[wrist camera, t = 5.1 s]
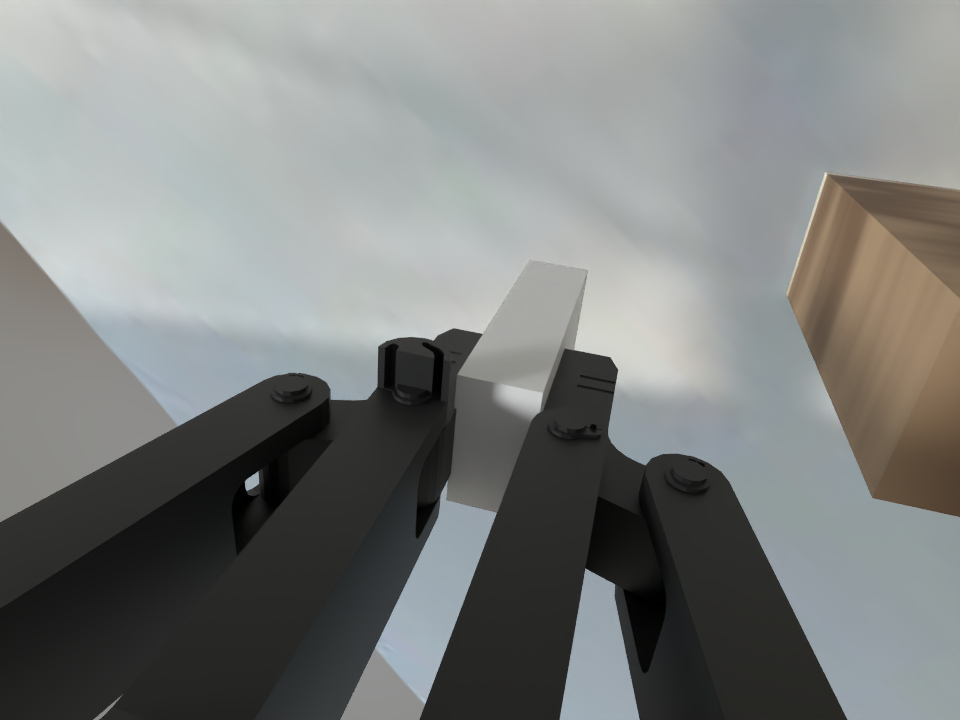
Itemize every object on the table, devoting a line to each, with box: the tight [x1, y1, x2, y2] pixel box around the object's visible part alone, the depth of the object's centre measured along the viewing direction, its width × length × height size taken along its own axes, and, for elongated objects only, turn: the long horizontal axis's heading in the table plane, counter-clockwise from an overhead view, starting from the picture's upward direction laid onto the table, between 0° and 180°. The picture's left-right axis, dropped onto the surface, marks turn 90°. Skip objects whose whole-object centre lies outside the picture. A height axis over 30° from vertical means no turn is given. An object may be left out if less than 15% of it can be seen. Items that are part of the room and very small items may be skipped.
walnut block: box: [786, 172, 960, 517], centre depth 20 cm, size 5×5×14 cm
